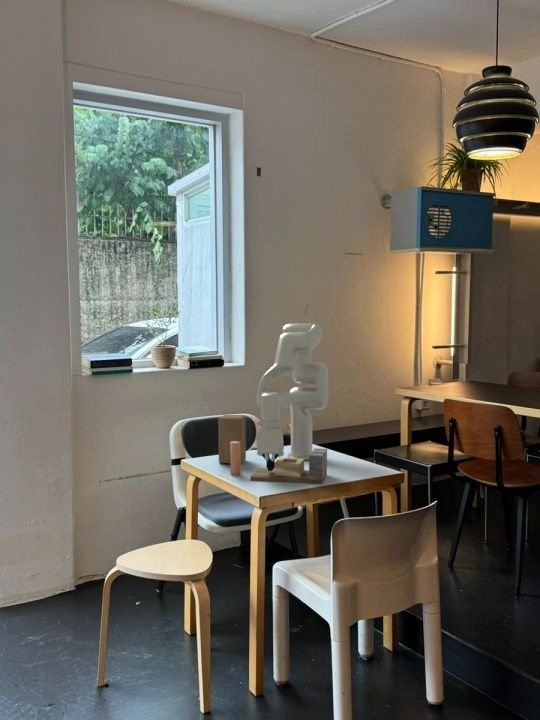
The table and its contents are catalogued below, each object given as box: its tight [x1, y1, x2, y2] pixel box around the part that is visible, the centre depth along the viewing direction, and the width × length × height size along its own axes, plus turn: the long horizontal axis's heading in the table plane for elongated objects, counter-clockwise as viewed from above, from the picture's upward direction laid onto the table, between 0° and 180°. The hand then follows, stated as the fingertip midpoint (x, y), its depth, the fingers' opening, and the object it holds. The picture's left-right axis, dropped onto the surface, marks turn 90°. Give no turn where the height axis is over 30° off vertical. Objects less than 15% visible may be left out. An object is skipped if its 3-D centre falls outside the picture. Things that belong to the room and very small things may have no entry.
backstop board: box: [249, 448, 328, 485], centre depth 271 cm, size 14×28×10 cm, turn 78°
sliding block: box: [274, 457, 305, 477], centre depth 271 cm, size 10×10×5 cm
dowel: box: [230, 441, 242, 476], centre depth 277 cm, size 4×4×13 cm
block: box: [217, 414, 247, 465], centre depth 298 cm, size 10×10×20 cm
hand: (270, 470), depth 273 cm, fingers closed
